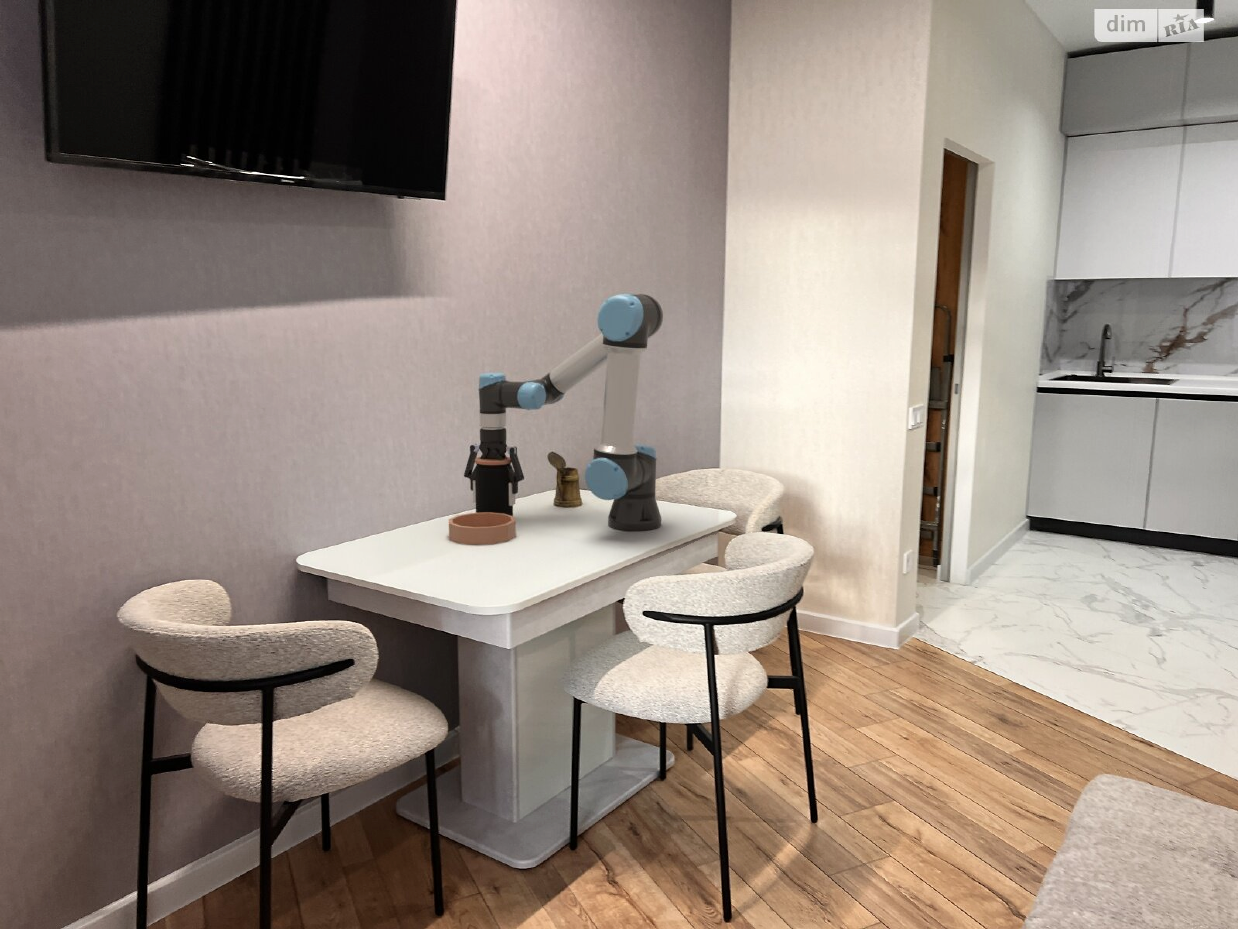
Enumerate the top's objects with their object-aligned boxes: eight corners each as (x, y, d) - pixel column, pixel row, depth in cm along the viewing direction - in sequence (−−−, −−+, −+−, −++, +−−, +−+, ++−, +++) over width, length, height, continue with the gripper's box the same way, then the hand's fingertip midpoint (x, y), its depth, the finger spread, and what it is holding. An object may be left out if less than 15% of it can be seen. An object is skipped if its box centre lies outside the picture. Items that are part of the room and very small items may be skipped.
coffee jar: (516, 516, 276) (515, 456, 273) (508, 524, 265) (507, 462, 262) (481, 515, 277) (479, 455, 274) (471, 523, 266) (470, 461, 263)
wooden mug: (539, 508, 286) (539, 450, 283) (563, 500, 298) (563, 444, 294) (564, 511, 282) (564, 452, 279) (587, 503, 293) (587, 446, 290)
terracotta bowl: (525, 531, 258) (525, 515, 257) (497, 547, 242) (497, 530, 241) (468, 526, 264) (467, 510, 263) (437, 541, 247) (436, 524, 246)
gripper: (535, 427, 266) (536, 503, 270) (462, 423, 273) (464, 497, 277) (524, 431, 259) (525, 509, 263) (450, 427, 266) (452, 502, 270)
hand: (494, 503), depth 270 cm, fingers closed on coffee jar, 11 cm apart
